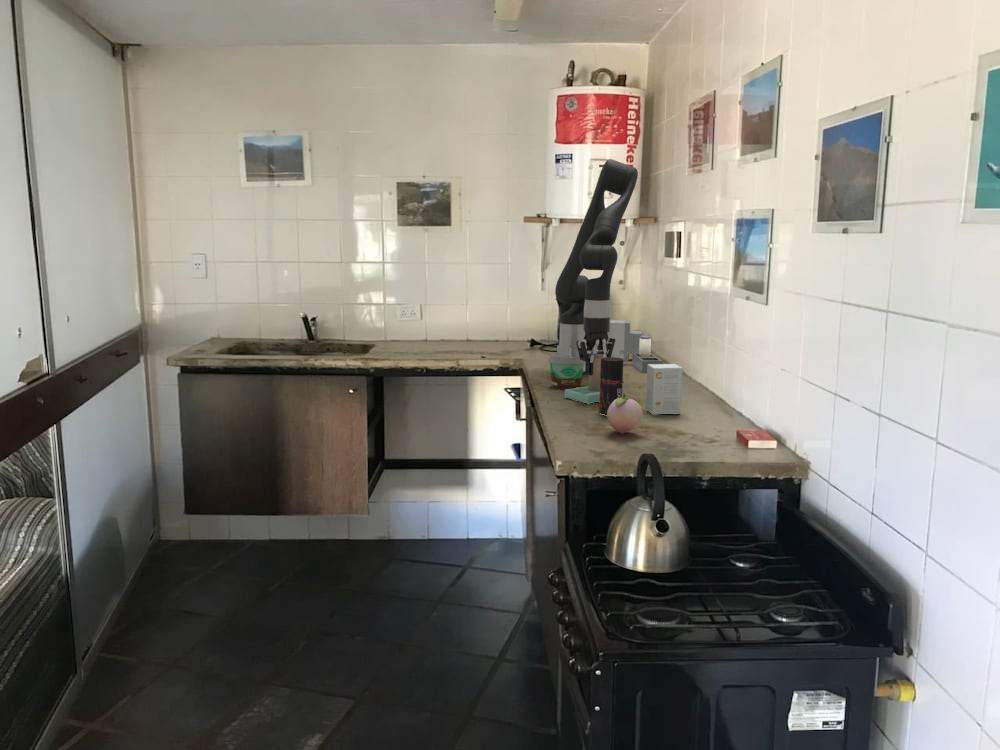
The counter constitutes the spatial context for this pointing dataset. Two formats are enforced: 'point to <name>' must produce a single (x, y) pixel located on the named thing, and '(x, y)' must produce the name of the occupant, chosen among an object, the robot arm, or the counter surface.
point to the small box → (664, 388)
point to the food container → (566, 371)
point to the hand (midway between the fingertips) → (595, 373)
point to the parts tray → (583, 394)
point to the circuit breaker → (624, 339)
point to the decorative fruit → (624, 414)
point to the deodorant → (610, 382)
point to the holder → (644, 355)
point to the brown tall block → (595, 374)
